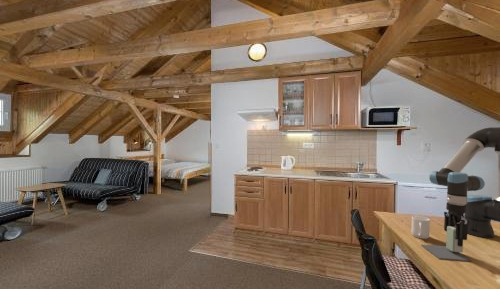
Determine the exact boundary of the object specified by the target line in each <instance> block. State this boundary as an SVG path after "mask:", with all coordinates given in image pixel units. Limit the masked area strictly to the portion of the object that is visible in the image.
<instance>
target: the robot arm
mask: <svg viewBox="0 0 500 289" xmlns="http://www.w3.org/2000/svg"><path fill="white" fill-rule="evenodd" d="M486 148H494V153H497V155H498V159H497V163H498V164H497V196H494V197H492V196H488V195H483V194H482V195H480V194H479V195H478V194H475V195H474V194H470V195H468V192H472V191H473V192H476V191H480V190H482V189H483V188H484V187H485V185H486V183H485V181H484V179H483V178H482V177H480V176H478V175H469V174H467V173H466V172H462V170H463V169H464V168H465V167H466V166H467V165H468V164H469V163H470V162H471V160H472V159H473V158H474V157H475V156H476V155H477V154H478V152H482V151H483V150H484V149H486ZM428 178H429V181H430V182H431V183H432V184H434V185H438V186H442V187H447V188H446V189H447V191H446V201H447V202H446V208H445V209H446V211H444V212H443V216H444V220H443V222H444V223H443V224H444V225H443V228H444V231H445V232H446V233H447V226H452V227H455V228H456V237H457V238H455V252H459V253H463V252H462V246H463V247H464V241H468V235H471V236H474V237H475V236H476V237H479V238H485V239H492V238H495V231H494V228H493V226H492V223H491V222H492V221H494V222H498V223H500V127H496V126H495V127H491V126H490V127H486V128H482V129H478V130H477V131H475V132H473V133H472V134H470V135H468V137H466V138H465V140H463V141H462V145H461V147H460V148H459V149H458V150H457V151H456V152H455V153H454V154H453V156H452V157H451V158H450V159H449V160H447V162H446V163H445V164H444V165H443V167H441V169H440V170H439V171H438V170H434V171H432V172H430V174H429V177H428Z"/></svg>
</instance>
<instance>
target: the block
mask: <svg viewBox="0 0 500 289" xmlns="http://www.w3.org/2000/svg"><path fill="white" fill-rule="evenodd" d="M455 238H457V237H456V228H455V227H452V226H447V232H446V243H445V246H446V248H448V249H449V250H451V251H452V252H455ZM463 250H464V245H463V246H462V252H461V253H464V251H463Z"/></svg>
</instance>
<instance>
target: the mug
mask: <svg viewBox="0 0 500 289" xmlns="http://www.w3.org/2000/svg"><path fill="white" fill-rule="evenodd" d="M430 224H431V219H430V218H428V217H426V216H421V215H412V216H411V228H410V229H411V232H410V234H411V235H412V236H413V237H415V238H417V239H423V240H427V239H429V238H430V232H431V231H430V229H431V228H430V226H431V225H430Z"/></svg>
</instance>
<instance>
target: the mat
mask: <svg viewBox="0 0 500 289" xmlns="http://www.w3.org/2000/svg"><path fill="white" fill-rule="evenodd" d="M420 246H421V247H422V248H424V249H425V250H426V251H427V252H428V253H430V254H431V255H433V256H434V257H435V258H437V259H438V260H446V261H456V262H457V261H459V262H472V260H471V259H470V258H469V257H467V256H465V255H464V254H462V252H452V251H451V250H449V249H448V248H446V245H435V244H434V245H433V244H421V245H420Z"/></svg>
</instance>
